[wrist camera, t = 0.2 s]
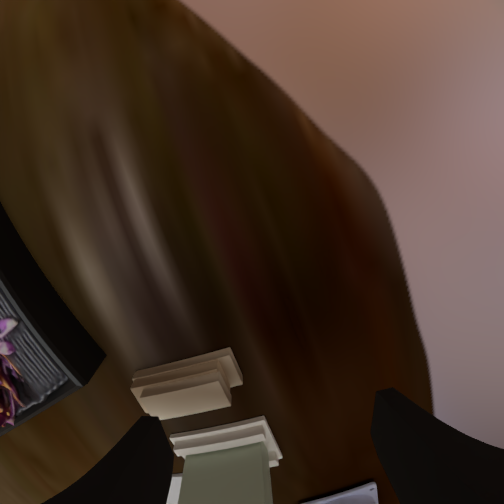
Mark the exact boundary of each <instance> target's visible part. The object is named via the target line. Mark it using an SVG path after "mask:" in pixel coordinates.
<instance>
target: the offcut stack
mask: <svg viewBox="0 0 504 504" xmlns="http://www.w3.org/2000/svg"><path fill="white" fill-rule="evenodd" d="M132 380H133V384H132V386H131V388H130V389H131V391H132V392H133V394H134V395H135V397H136V399H137V400H138V402H139V403H140V405H141V406H142V408H143V409H144V411H145V412H146V413H149V414H150V415H151V416H158V417H159V419H160V420H164V419H169V418H175V417H181V416H186V415H191V414H196V413H201V412H206V411H210V410H215V409H219V408H224V407H228V406H231V394H230V387H234V386H238V385H242V384H243V375H242V373H241V371H240V368H239V366H238V364H237V361H236V359H235V357H234V355H233V352H232V350H231V348H230V347H228V348H225V349H221V350H218V351H214V352H211V353H207V354H203V355H199V356H196V357H192V358H188V359H184V360H180V361H176V362H172V363H168V364H164V365H160V366H156V367H152V368H147V369H143V370H138V371H136V372H135V374H134V376H133V378H132Z"/></svg>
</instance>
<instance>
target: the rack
mask: <svg viewBox="0 0 504 504" xmlns="http://www.w3.org/2000/svg"><path fill="white" fill-rule="evenodd" d="M170 440H171V441H172V443H173V444H174V449H173V450H174V452H175V453H176V455H177V456H182V457H183V458H184V459H185V457H186V455H192V454H199V453H205V452H212V451H217V450H223V449H228V448H233V447H238V446H243V445H248V444H252V443H257V442H261V441H263V442H264V444H265V446H266V448H267V450H268V458H269V467H274V466H278V465H279V463H278V459H282V458H283V457H282V453H281V451H280V449H279V447H278V444H277V442H276V440H275V438H274V436H273V434H272V432H271V429H270V427H269V425H268V423H267V421H266V418H265V416H260V417H256V418H252V419H247V420H243V421H239V422H234V423H230V424H225V425H220V426H216V427H210V428H205V429H200V430H194V431H188V432H182V433H176V434H170Z"/></svg>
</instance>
